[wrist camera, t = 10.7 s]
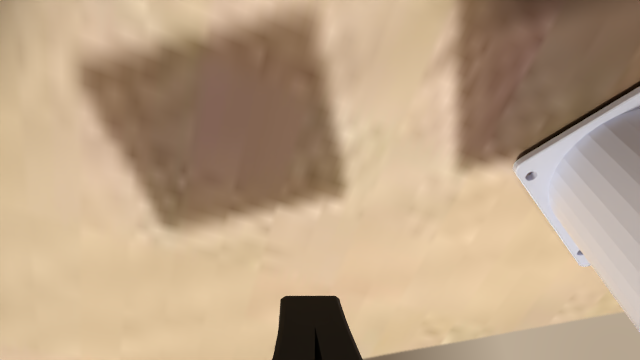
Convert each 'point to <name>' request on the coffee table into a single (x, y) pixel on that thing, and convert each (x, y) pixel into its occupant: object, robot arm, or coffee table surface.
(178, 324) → the coffee table surface
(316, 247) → the coffee table surface
